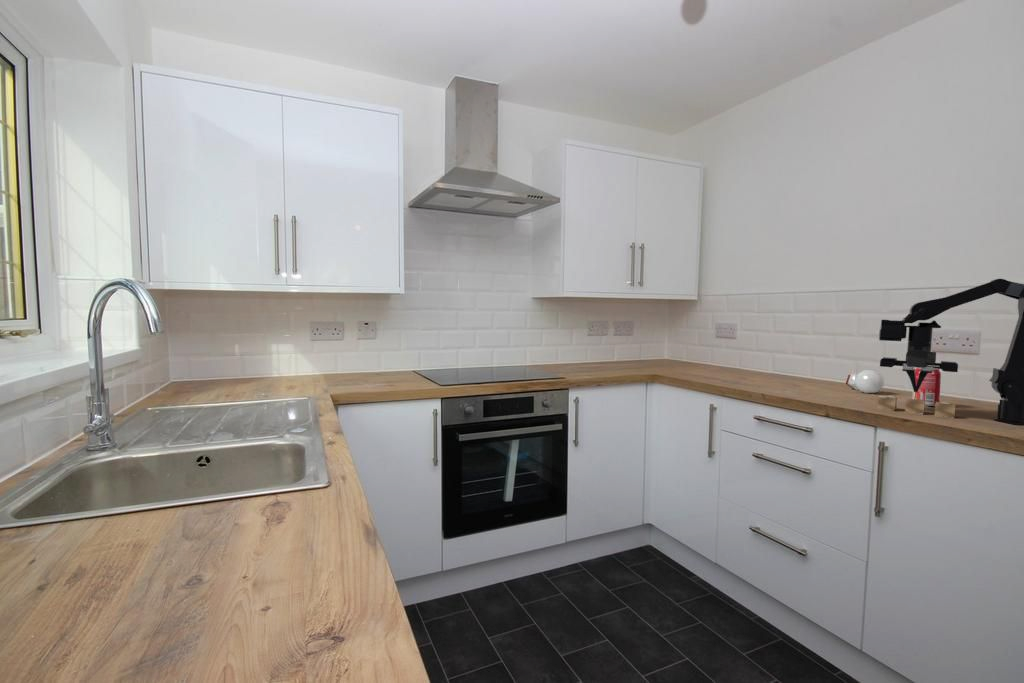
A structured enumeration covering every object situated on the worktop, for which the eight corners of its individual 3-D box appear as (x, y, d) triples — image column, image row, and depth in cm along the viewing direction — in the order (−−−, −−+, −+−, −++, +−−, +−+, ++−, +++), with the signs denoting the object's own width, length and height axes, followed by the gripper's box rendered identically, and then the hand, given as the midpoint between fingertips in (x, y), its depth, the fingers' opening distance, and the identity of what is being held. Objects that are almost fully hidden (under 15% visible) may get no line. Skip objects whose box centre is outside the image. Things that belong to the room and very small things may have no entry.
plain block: (924, 413, 157) (925, 400, 157) (923, 415, 153) (924, 402, 153) (906, 410, 160) (907, 398, 160) (905, 412, 156) (905, 400, 156)
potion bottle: (874, 398, 191) (850, 397, 206) (895, 384, 191) (870, 383, 205) (859, 378, 192) (836, 378, 206) (880, 364, 191) (856, 365, 206)
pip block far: (896, 409, 161) (897, 396, 161) (894, 411, 158) (895, 398, 158) (879, 407, 164) (879, 394, 164) (877, 409, 161) (878, 396, 161)
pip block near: (954, 416, 152) (955, 402, 152) (954, 418, 149) (955, 404, 148) (935, 414, 155) (936, 400, 155) (934, 416, 152) (935, 402, 151)
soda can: (944, 408, 166) (947, 369, 165) (919, 406, 167) (922, 368, 166) (930, 404, 173) (933, 367, 172) (907, 403, 174) (909, 366, 173)
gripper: (879, 341, 156) (876, 390, 156) (959, 345, 143) (955, 398, 144) (883, 340, 164) (880, 387, 165) (959, 343, 151) (955, 394, 152)
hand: (915, 391), depth 156 cm, fingers closed
